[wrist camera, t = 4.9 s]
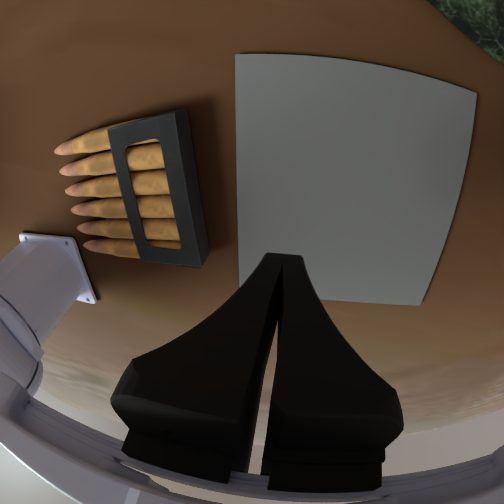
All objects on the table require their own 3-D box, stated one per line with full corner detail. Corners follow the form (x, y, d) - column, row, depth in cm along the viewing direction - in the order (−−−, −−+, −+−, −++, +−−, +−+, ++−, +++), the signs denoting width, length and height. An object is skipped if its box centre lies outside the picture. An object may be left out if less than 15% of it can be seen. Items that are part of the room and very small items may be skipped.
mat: (240, 288, 23) (239, 291, 23) (236, 54, 14) (235, 54, 14) (418, 302, 21) (419, 305, 21) (473, 92, 12) (476, 93, 12)
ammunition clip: (202, 269, 20) (81, 259, 23) (210, 254, 22) (92, 248, 24) (174, 111, 15) (44, 144, 17) (187, 107, 16) (60, 137, 19)
